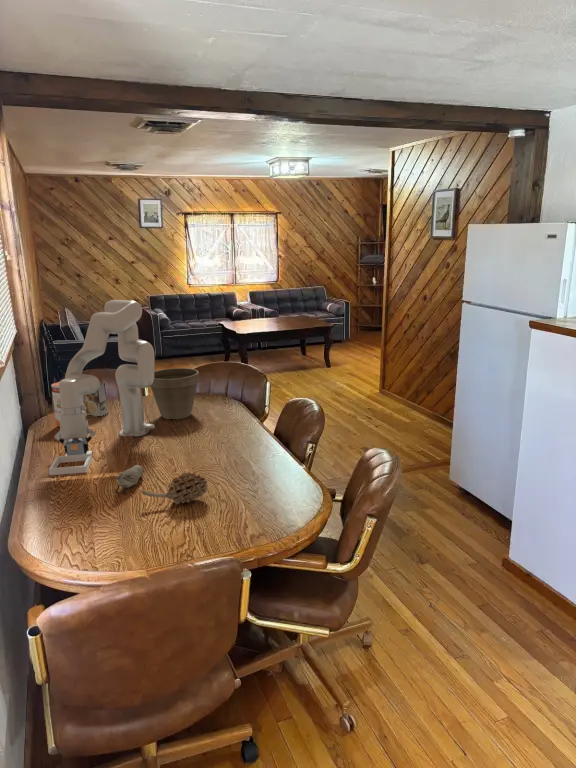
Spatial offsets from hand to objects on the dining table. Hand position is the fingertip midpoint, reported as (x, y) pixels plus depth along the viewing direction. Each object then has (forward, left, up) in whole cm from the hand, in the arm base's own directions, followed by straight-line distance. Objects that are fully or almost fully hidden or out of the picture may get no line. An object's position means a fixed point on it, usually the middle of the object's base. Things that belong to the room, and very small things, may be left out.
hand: (77, 452), depth 225 cm
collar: (0, 0, -1) cm, 1 cm away
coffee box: (+1, -60, -3) cm, 60 cm away
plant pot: (-38, -50, -3) cm, 62 cm away
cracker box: (+10, -42, -3) cm, 43 cm away
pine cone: (-40, +48, -3) cm, 62 cm away
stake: (0, 0, -2) cm, 2 cm away
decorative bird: (-24, +32, -3) cm, 40 cm away
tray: (0, +12, -2) cm, 12 cm away
